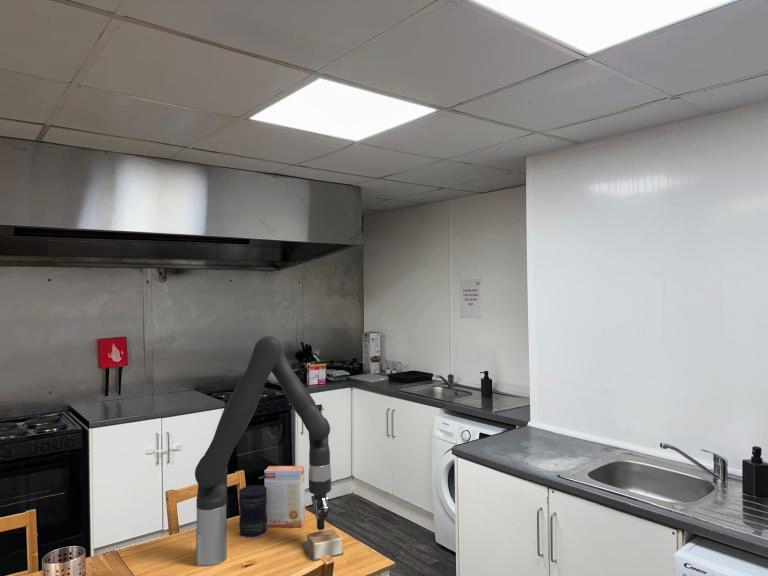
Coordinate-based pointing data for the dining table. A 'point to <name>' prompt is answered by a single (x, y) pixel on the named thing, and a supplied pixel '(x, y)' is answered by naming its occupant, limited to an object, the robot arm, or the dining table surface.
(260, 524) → the storage jar
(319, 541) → the brown and white block
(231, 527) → the dining table surface
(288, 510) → the cracker box
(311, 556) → the mat
